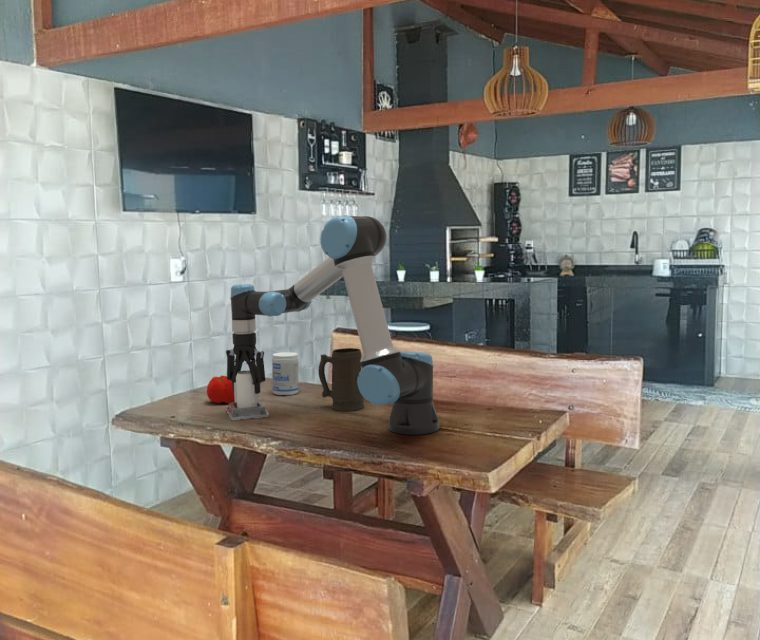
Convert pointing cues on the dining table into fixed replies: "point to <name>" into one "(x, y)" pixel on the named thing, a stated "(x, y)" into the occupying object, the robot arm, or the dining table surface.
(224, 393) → the tomato
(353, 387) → the beer stein
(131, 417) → the dining table surface
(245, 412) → the grey flat rectangular tray
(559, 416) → the dining table surface
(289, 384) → the supplement tub
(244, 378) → the can
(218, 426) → the dining table surface
